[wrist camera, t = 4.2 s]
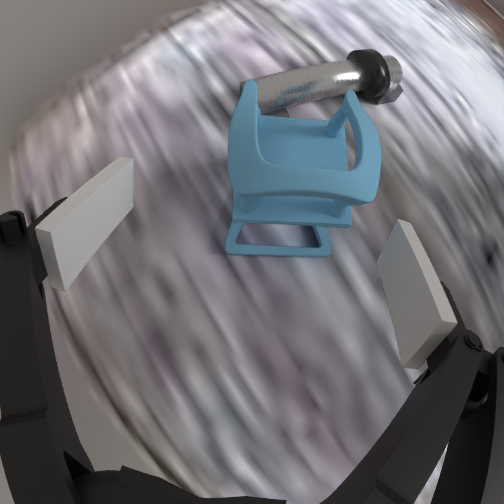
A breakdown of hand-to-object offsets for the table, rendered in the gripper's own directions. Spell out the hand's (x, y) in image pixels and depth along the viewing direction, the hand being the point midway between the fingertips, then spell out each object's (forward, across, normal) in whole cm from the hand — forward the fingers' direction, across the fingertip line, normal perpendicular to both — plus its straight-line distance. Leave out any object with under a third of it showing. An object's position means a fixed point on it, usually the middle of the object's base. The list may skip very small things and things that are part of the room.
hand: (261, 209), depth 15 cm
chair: (+9, +1, -4) cm, 10 cm away
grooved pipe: (+16, +3, +4) cm, 17 cm away
